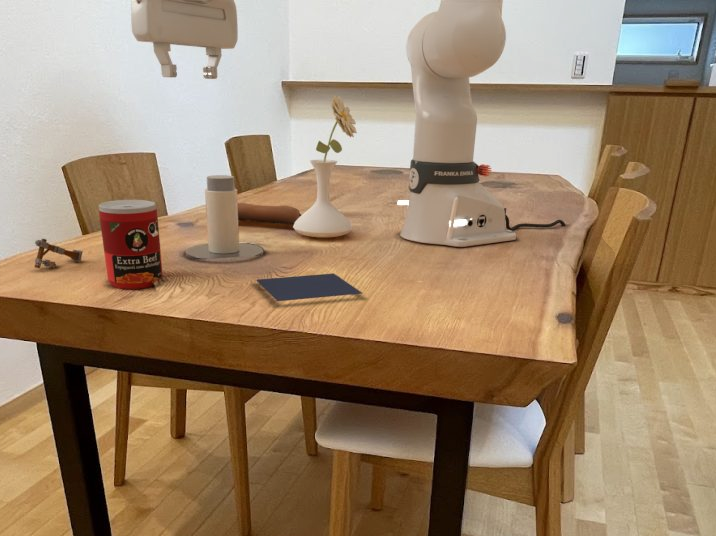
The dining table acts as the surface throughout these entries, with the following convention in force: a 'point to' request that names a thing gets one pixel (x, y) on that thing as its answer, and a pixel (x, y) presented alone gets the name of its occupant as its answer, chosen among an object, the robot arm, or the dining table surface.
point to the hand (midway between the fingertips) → (190, 78)
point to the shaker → (222, 214)
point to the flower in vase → (327, 185)
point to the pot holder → (307, 287)
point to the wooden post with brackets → (42, 244)
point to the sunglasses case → (268, 213)
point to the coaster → (203, 253)
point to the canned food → (131, 243)
